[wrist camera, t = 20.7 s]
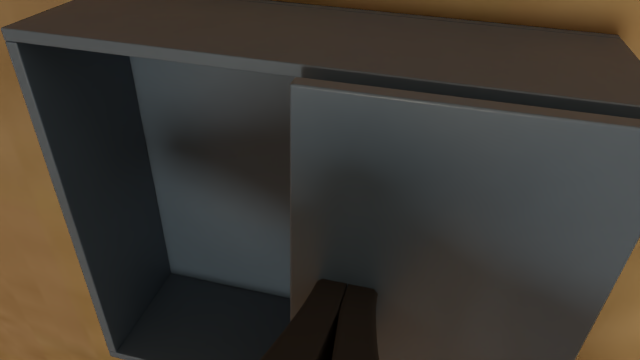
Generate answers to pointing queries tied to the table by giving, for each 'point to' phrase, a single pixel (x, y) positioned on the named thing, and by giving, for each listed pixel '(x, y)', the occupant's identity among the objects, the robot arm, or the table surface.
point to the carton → (241, 139)
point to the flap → (461, 217)
